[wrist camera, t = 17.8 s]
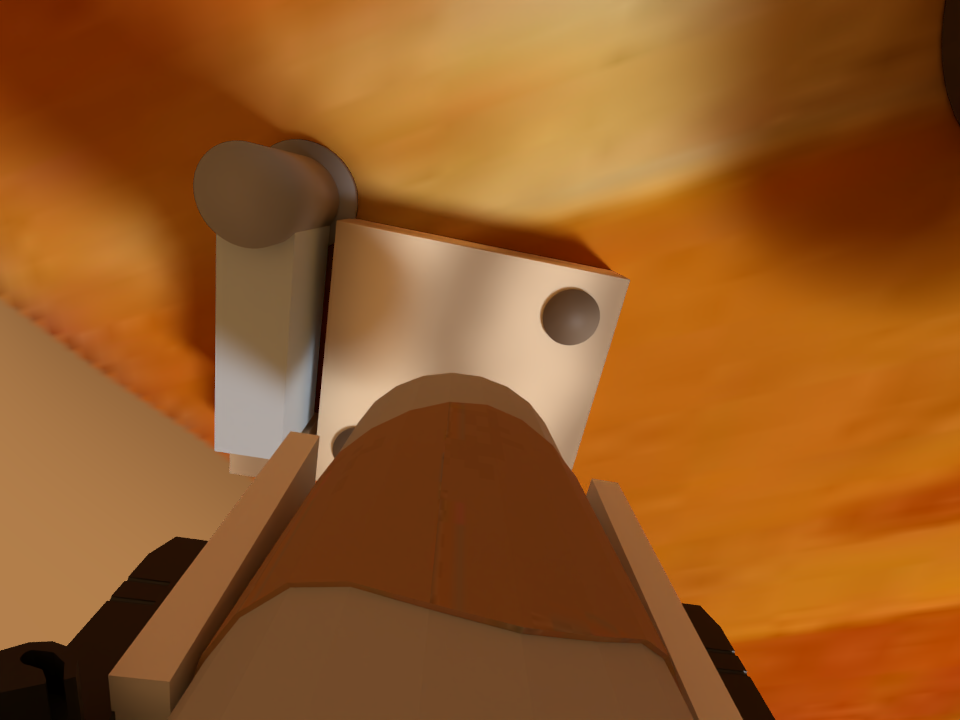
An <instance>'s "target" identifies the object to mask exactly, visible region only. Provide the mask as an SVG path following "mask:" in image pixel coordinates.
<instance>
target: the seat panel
mask: <svg viewBox="0 0 960 720" xmlns="http://www.w3.org/2000/svg"><path fill="white" fill-rule="evenodd" d="M271 148H275V149H279V150H283V151H287V152H291V153H295V154H299V155H303V156H307V157H310V158H312V159H314V160H316V161H318V162H319V163H320V164H322V165H323V166H324V167H325V168H326V169H327V170H328V171H329V173H330V174H331V175H332V177H333V179H334V181H335V183H336V185H337V188H338V192H339V209H338V212H337V215H336V217H335V219H334V221H333V223H332V224H331V225H330V232H329V244H328V246H329V245H332V244H334V243H335V244H334V255H333V266H332V277H331V287H330V298H329V309H328V320H327V330H326V341H325V352H324V363H323V373H322V384H321V395H320V405H319V413H316V412H314V415H313V417H312V418H311V419H310V421H309V422H308V424H307V425H306V427H305V428H304V429H303V431H302V432H301V433H305V434H312V435H318V436H320V438H319V448H318V459H317V469H316V481H317V480H318V479H319V477H320V476H321V475H322V474H323V472H324V471H325V470H326V469H327V467H328V466H329V465H330V463H331V462H332V461H333V460H334V458H335V457H336V456H337V455H338V453H339V452H340V450H341V449H342V447H343V446H344V444H345V442H346V441H347V439H348V438H349V436H350V435H351V433H352V432H353V430H354V428H355V427H356V425H357V424H358V422H359V421H360V420H361V418H362V417H363V416H364V415H365V413H366V412H367V411H368V410H369V408H370V407H371V406H372V404H373V403H374V402H375V401H376V400H378V399H379V398H381V397H382V396H383V395H385V394H386V393H388V392H389V391H390V390H392V389H393V388H394V387H396V386H398V385H400V384H403V383H406V382H408V381H411V380H413V379H416V378H419V377H421V376H426V375H435V374H444V373H459V374H466V375H473V376H481V377H483V378H486V379H489V380H491V381H494V382H496V383H499V384H502V385H504V386H507V387H508V388H510V389H511V390H513V391H514V392H515V393H517V394H518V395H519V396H521V397H522V398H524V399H525V400H526V401H528V402H529V403H530V404H531V405H532V407H533V408H534V409H535V411H536V412H537V413H538V414H539V416H540V417H541V418H542V420H543V421H544V422H545V424H546V426H547V428H548V430H549V432H550V434H551V436H552V438H553V440H554V442H555V444H556V446H557V448H558V450H559V452H560V454H561V456H562V458H563V460H564V461H565V463H566V464H567V465H568V467H569V468H570V469H571V471H572V468H573V464H574V461H575V458H576V455H577V451H578V448H579V445H580V442H581V438H582V435H583V432H584V429H585V425H586V422H587V419H588V415H589V412H590V409H591V406H592V402H593V399H594V396H595V393H596V389H597V386H598V383H599V380H600V376H601V373H602V370H603V367H604V363H605V360H606V357H607V354H608V350H609V347H610V344H611V341H612V337H613V334H614V331H615V327H616V324H617V321H618V318H619V314H620V311H621V308H622V305H623V301H624V298H625V295H626V292H627V288H628V285H629V282H630V280H629V279H628V278H626V277H624V276H622V275H620V274H618V273H616V272H614V271H612V270H607V269H602V268H597V267H592V266H587V265H582V264H577V263H572V262H567V261H562V260H557V259H553V258H548V257H543V256H538V255H533V254H528V253H523V252H518V251H513V250H508V249H503V248H498V247H493V246H488V245H484V244H479V243H474V242H469V241H464V240H459V239H454V238H449V237H444V236H439V235H434V234H429V233H424V232H420V231H415V230H410V229H405V228H400V227H395V226H390V225H385V224H380V223H375V222H370V221H365V220H360V219H355V217H356V214H357V209H358V193H357V188H356V184H355V181H354V179H353V176H352V174H351V172H350V171H349V169H348V167H347V166H346V165H345V163H344V162H343V161H342V160H341V159H340V158H339V157H338V156H337V155H336V154H335V153H333V152H332V151H331V150H329V149H328V148H326V147H324V146H322V145H319V144H317V143H314V142H311V141H307V140H301V139H291V140H285V141H282V142H279V143H276V144H274V145H272V146H271ZM268 461H269V459H264V458H258V457H251V456H244V455H238V454H231V453H230V473H232V474H238V475H245V476H251V477H257V475H258V474H259V473H260V471H261V470H262V469H263V467H264V466H265V465H266V463H267V462H268Z"/></svg>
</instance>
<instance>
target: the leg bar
mask: <svg viewBox="0 0 960 720" xmlns="http://www.w3.org/2000/svg"><path fill="white" fill-rule="evenodd" d="M193 189H194V197H195V201H196V204H197V207H198V210H199V212H200V214H201V216H202V217H203V219H204V221H205V222H206V223H207V225H208V226H209V227H210V228H211V229H212V230H213V231H214V232H215V233H216V326H215V451H218V452H225V453H231V454H238V455H244V456H251V457H258V458H264V459H270V458H271V457H272V455H273V454H274V453H275V451H276V450H277V449H278V447H279V446H280V445H281V443H282V442H283V441H284V439H285V438H286V437H287V435H288V434H289V433H290V431H293V432H299V433H301V432H302V431H303V429H304V428H305V427H306V425H307V424H308V422H309V421H310V419H311V418H312V417H313V415H314V408H315V396H316V384H317V373H318V361H319V349H320V337H321V326H322V314H323V302H324V291H325V279H326V267H327V255H328V244H329V232H330V225H331V224H332V223H333V221H334V219H335V217H336V215H337V212H338V209H339V192H338V188H337V185H336V183H335V181H334V179H333V177H332V175H331V174H330V173H329V171H328V170H327V169H326V168H325V167H324V166H323V165H322V164H320V163H319V162H318V161H316V160H314V159H312V158H310V157H307V156H303V155H299V154H295V153H291V152H287V151H283V150H279V149H275V148H271V147H267V146H263V145H259V144H255V143H251V142H246V141H228V142H224V143H221V144H218V145H216V146H214V147H213V148H211V149H210V150H209V151H208V152H207V153H206V154H205V155H204V156H203V157H202V159H201V160H200V162H199V164H198V166H197V168H196V171H195V175H194V183H193Z"/></svg>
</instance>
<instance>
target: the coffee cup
mask: <svg viewBox="0 0 960 720" xmlns="http://www.w3.org/2000/svg"><path fill="white" fill-rule="evenodd" d="M167 720H694V719H693V717H692V715H691V713H690V711H689V709H688V707H687V705H686V703H685V701H684V699H683V697H682V693H681V690H680V687H679V683H678V680H677V677H676V674H675V671H674V668H673V665H672V662H671V659H670V656H669V654H668V652H667V651H666V649H665V647H664V645H663V643H662V641H661V639H660V637H659V635H658V633H657V631H656V629H655V627H654V626H653V624H652V622H651V620H650V618H649V616H648V614H647V612H646V610H645V608H644V606H643V604H642V603H641V601H640V599H639V597H638V595H637V593H636V591H635V589H634V587H633V585H632V583H631V581H630V579H629V578H628V576H627V574H626V572H625V570H624V568H623V566H622V564H621V562H620V560H619V558H618V556H617V554H616V553H615V551H614V549H613V547H612V545H611V543H610V541H609V539H608V537H607V535H606V533H605V531H604V530H603V528H602V526H601V524H600V522H599V520H598V518H597V516H596V514H595V512H594V510H593V508H592V506H591V505H590V503H589V501H588V499H587V497H586V495H585V493H584V491H583V489H582V487H581V485H580V483H579V481H578V480H577V478H576V476H575V475H574V473H573V472H572V471H571V469H570V468H569V467H568V465H567V464H566V463H565V461H564V460H563V458H562V456H561V454H560V452H559V450H558V448H557V446H556V444H555V442H554V440H553V438H552V436H551V434H550V432H549V430H548V428H547V426H546V424H545V422H544V421H543V420H542V418H541V417H540V416H539V414H538V413H537V412H536V411H535V409H534V408H533V407H532V405H531V404H530V403H529V402H528V401H526V400H525V399H524V398H522V397H521V396H519V395H518V394H517V393H515V392H514V391H513V390H511V389H510V388H508V387H507V386H504V385H502V384H499V383H496V382H494V381H491V380H489V379H486V378H483V377H481V376H473V375H466V374H459V373H444V374H435V375H426V376H421V377H419V378H416V379H413V380H411V381H408V382H406V383H403V384H400V385H398V386H396V387H394V388H393V389H392V390H390V391H389V392H388V393H386V394H385V395H383V396H382V397H381V398H379V399H378V400H376V401H375V402H374V403H373V404H372V406H371V407H370V408H369V410H368V411H367V412H366V413H365V415H364V416H363V417H362V418H361V420H360V421H359V422H358V424H357V425H356V427H355V428H354V430H353V432H352V433H351V435H350V436H349V438H348V439H347V441H346V442H345V444H344V446H343V447H342V449H341V450H340V452H339V453H338V455H337V456H336V457H335V458H334V460H333V461H332V462H331V463H330V465H329V466H328V467H327V469H326V470H325V471H324V472H323V474H322V475H321V476H320V477H319V479H318V480H317V482H316V483H315V485H314V486H313V488H312V489H311V491H310V492H309V494H308V495H307V497H306V498H305V500H304V501H303V503H302V504H301V506H300V507H299V509H298V510H297V512H296V513H295V515H294V516H293V518H292V519H291V521H290V522H289V524H288V525H287V527H286V528H285V530H284V531H283V533H282V534H281V536H280V537H279V539H278V540H277V542H276V543H275V545H274V546H273V548H272V550H271V551H270V553H269V554H268V556H267V557H266V559H265V560H264V562H263V563H262V565H261V566H260V568H259V569H258V571H257V572H256V574H255V575H254V577H253V578H252V580H251V581H250V583H249V584H248V586H247V587H246V589H245V590H244V592H243V593H242V595H241V596H240V598H239V599H238V601H237V602H236V604H235V605H234V607H233V608H232V610H231V611H230V613H229V614H228V616H227V617H226V619H225V620H224V622H223V624H222V625H221V627H220V628H219V630H218V631H217V633H216V634H215V636H214V637H213V639H212V640H211V642H210V643H209V645H208V646H207V648H206V649H205V651H204V652H203V654H202V655H201V657H200V659H199V662H198V665H197V668H196V671H195V675H194V678H193V680H192V681H191V683H190V685H189V686H188V688H187V689H186V691H185V692H184V694H183V695H182V697H181V699H180V700H179V702H178V703H177V705H176V706H175V708H174V709H173V711H172V713H171V714H170V716H169V717H168V719H167Z"/></svg>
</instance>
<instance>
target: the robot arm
mask: <svg viewBox="0 0 960 720" xmlns="http://www.w3.org/2000/svg"><path fill="white" fill-rule="evenodd" d="M942 62H943V71H944V78H945V84H946V89H947V93H948V96H949V100H950V103H951V106H952V109H953V111H954V114H955V116H956V118H957V120H958V122H959V124H960V0H946V6H945V12H944V20H943V31H942ZM319 438H320V436H318V435H312V434H305V433H299V432H293V431H290V433H289V434H288V435H287V437H286V438H285V439H284V441H283V442H282V443H281V445H280V446H279V447H278V449H277V450H276V451H275V453H274V454H273V455H272V457H271V458H270V459H269V461H268V462H267V463H266V465H265V466H264V467H263V469H262V470H261V471H260V473H259V474H258V475H257V477H256V478H255V479H254V481H253V482H252V483H251V485H250V486H249V487H248V489H247V490H246V492H245V493H244V494H243V496H242V497H241V498H240V499H239V501H238V502H237V504H236V505H235V506H234V508H233V509H232V510H231V512H230V513H229V514H228V516H227V517H226V518H225V520H224V521H223V522H222V524H221V525H220V526H219V528H218V529H217V530H216V532H215V533H214V534H213V536H212V537H211V538H210V540H209V541H203V540H197V539H190V538H181V537H175V538H174V539H172V540H170V541H168V542H167V543H165V544H164V545H162V546H161V547H159V548H157V549H156V550H154V551H153V552H151V553H149V554H148V555H147V556H146V558H145V559H144V560H143V561H142V562H141V563H140V564H139V565H138V567H137V568H136V569H135V570H134V571H133V572H132V573H131V575H130V576H129V578H128V580H127V581H124V582H123V583H122V585H121V586H120V587H119V588H118V589H117V590H116V591H115V592H114V594H113V595H112V597H111V599H110V601H106V603H105V604H104V605H103V606H102V607H101V608H100V610H99V611H98V612H97V613H96V614H95V615H94V616H93V617H92V618H91V620H90V621H89V622H88V623H87V624H86V625H85V626H84V627H83V629H82V630H81V631H80V632H79V633H78V634H77V635H76V636H75V638H74V639H73V640H72V641H71V642H70V643H69V644H68V645H67V646H64V645H61V644H58V643H55V642H53V641H51V642H29V643H25V644H22V645H18V646H15V647H11V648H8V649H4V650H1V651H0V720H167V719H168V717H169V716H170V714H171V713H172V711H173V709H174V708H175V706H176V705H177V703H178V702H179V700H180V699H181V697H182V695H183V694H184V692H185V691H186V689H187V688H188V686H189V685H190V683H191V681H192V680H193V678H194V675H195V671H196V668H197V665H198V662H199V659H200V657H201V655H202V654H203V652H204V651H205V649H206V648H207V646H208V645H209V643H210V642H211V640H212V639H213V637H214V636H215V634H216V633H217V631H218V630H219V628H220V627H221V625H222V624H223V622H224V620H225V619H226V617H227V616H228V614H229V613H230V611H231V610H232V608H233V607H234V605H235V604H236V602H237V601H238V599H239V598H240V596H241V595H242V593H243V592H244V590H245V589H246V587H247V586H248V584H249V583H250V581H251V580H252V578H253V577H254V575H255V574H256V572H257V571H258V569H259V568H260V566H261V565H262V563H263V562H264V560H265V559H266V557H267V556H268V554H269V553H270V551H271V550H272V548H273V546H274V545H275V543H276V542H277V540H278V539H279V537H280V536H281V534H282V533H283V531H284V530H285V528H286V527H287V525H288V524H289V522H290V521H291V519H292V518H293V516H294V515H295V513H296V512H297V510H298V509H299V507H300V506H301V504H302V503H303V501H304V500H305V498H306V497H307V495H308V494H309V492H310V491H311V489H312V488H313V486H314V485H315V480H316V469H317V459H318V448H319ZM586 497H587V499H588V501H589V503H590V505H591V506H592V508H593V510H594V512H595V514H596V516H597V518H598V520H599V522H600V524H601V526H602V528H603V530H604V531H605V533H606V535H607V537H608V539H609V541H610V543H611V545H612V547H613V549H614V551H615V553H616V554H617V556H618V558H619V560H620V562H621V564H622V566H623V568H624V570H625V572H626V574H627V576H628V578H629V579H630V581H631V583H632V585H633V587H634V589H635V591H636V593H637V595H638V597H639V599H640V601H641V603H642V604H643V606H644V608H645V610H646V612H647V614H648V616H649V618H650V620H651V622H652V624H653V626H654V627H655V629H656V631H657V633H658V635H659V637H660V639H661V641H662V643H663V645H664V647H665V649H666V651H667V652H668V654H669V656H670V659H671V662H672V665H673V668H674V671H675V674H676V677H677V680H678V683H679V687H680V690H681V693H682V697H683V699H684V701H685V703H686V705H687V707H688V709H689V711H690V713H691V715H692V717H693V719H694V720H775V718H774V717H773V715H772V713H771V712H770V710H769V708H768V707H767V705H766V703H765V702H764V700H763V698H762V696H761V695H760V693H759V691H758V690H757V688H756V686H755V685H754V683H753V681H752V680H751V678H750V677H748V676H747V674H746V672H747V671H746V669H745V668H744V666H743V664H742V663H741V661H740V659H739V658H738V656H735V653H734V652H735V651H734V649H733V647H732V646H731V644H730V642H729V641H728V639H727V637H726V636H725V634H724V632H723V630H722V629H721V627H720V626H719V625H718V624H717V623H716V622H715V621H714V620H713V619H712V618H711V617H710V616H709V615H708V614H707V613H706V612H705V610H704V609H703V608H702V607H701V606H699V605H691V604H684V603H681V602H680V600H679V598H678V596H677V594H676V592H675V590H674V588H673V586H672V585H671V583H670V581H669V579H668V577H667V575H666V573H665V571H664V569H663V568H662V566H661V564H660V562H659V560H658V558H657V556H656V554H655V552H654V551H653V549H652V547H651V545H650V543H649V541H648V539H647V537H646V535H645V534H644V532H643V530H642V528H641V526H640V524H639V522H638V520H637V518H636V517H635V515H634V513H633V511H632V509H631V507H630V505H629V503H628V501H627V500H626V498H625V496H624V494H623V492H622V490H621V488H620V486H619V484H618V483H615V482H609V481H603V480H596V479H592V480H591V483H590V486H589V489H588V492H587V495H586Z"/></svg>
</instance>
